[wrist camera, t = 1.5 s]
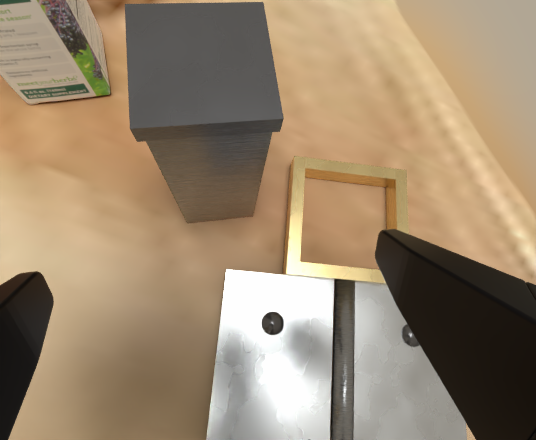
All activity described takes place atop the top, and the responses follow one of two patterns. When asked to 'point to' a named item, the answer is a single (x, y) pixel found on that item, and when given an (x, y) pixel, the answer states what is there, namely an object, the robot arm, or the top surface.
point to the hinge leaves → (325, 343)
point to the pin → (204, 100)
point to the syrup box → (52, 50)
